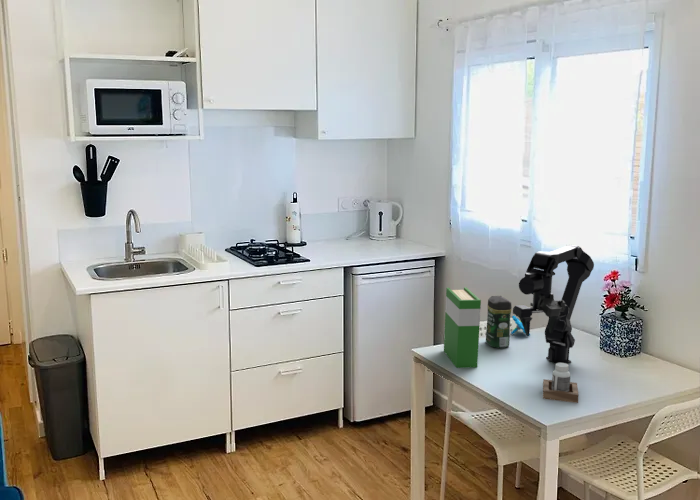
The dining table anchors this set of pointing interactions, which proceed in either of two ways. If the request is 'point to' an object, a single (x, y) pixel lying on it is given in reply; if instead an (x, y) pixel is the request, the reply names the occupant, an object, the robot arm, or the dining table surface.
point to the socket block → (560, 392)
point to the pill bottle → (561, 377)
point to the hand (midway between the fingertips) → (539, 334)
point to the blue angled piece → (518, 325)
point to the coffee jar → (498, 322)
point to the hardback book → (462, 327)
